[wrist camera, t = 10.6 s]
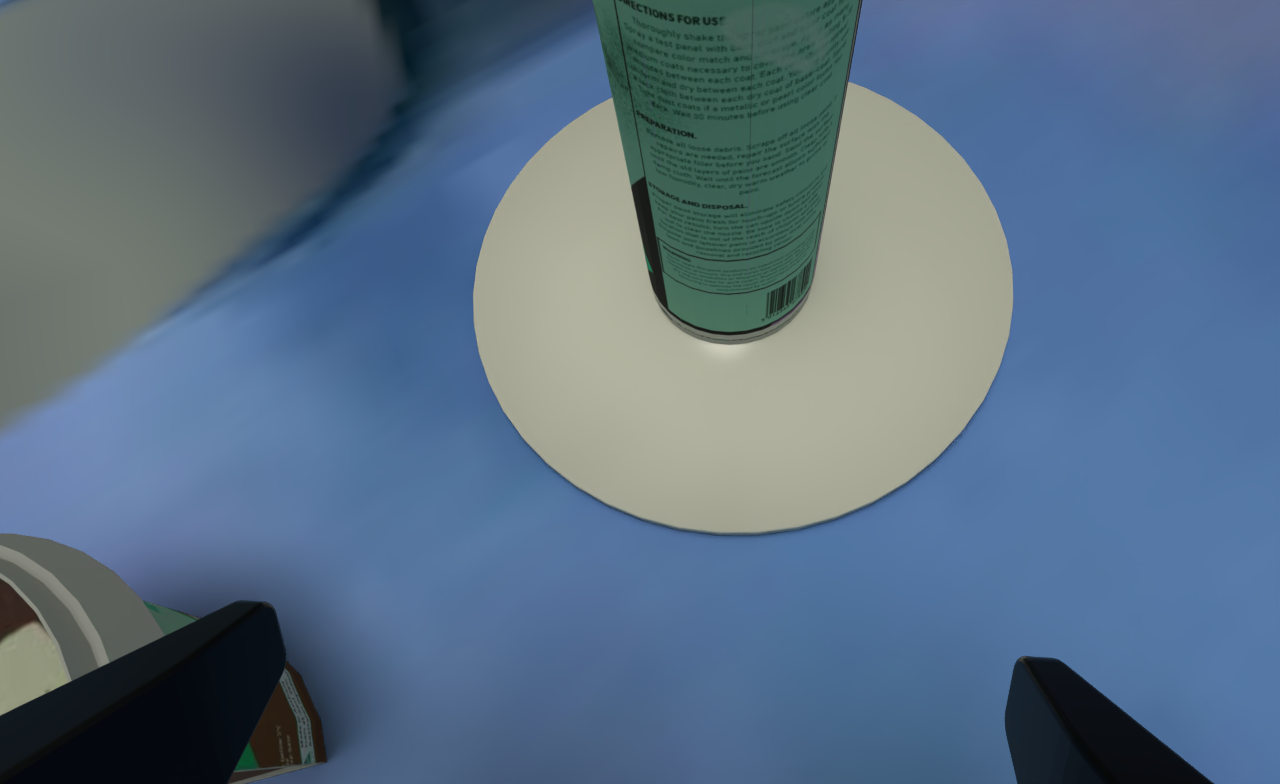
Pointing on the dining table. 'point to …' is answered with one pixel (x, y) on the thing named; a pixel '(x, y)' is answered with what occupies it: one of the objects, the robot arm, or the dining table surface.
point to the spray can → (729, 149)
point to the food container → (118, 645)
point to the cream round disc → (756, 371)
